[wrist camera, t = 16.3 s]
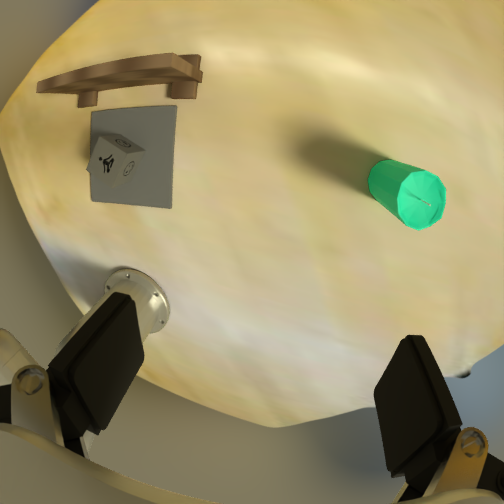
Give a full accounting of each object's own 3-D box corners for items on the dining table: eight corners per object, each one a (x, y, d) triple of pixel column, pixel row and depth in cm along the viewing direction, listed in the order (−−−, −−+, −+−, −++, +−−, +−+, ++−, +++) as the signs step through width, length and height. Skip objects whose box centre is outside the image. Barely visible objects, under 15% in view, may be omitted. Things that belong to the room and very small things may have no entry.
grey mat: (171, 207, 37) (170, 208, 37) (93, 200, 38) (91, 201, 38) (177, 106, 32) (175, 105, 31) (93, 112, 33) (92, 112, 32)
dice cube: (131, 181, 36) (111, 188, 32) (106, 164, 35) (86, 170, 31) (146, 150, 34) (127, 153, 30) (120, 134, 33) (99, 136, 29)
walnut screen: (204, 56, 29) (176, 33, 20) (199, 98, 31) (168, 87, 22) (84, 72, 30) (39, 66, 21) (80, 108, 33) (34, 109, 24)
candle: (365, 202, 34) (397, 234, 23) (368, 157, 32) (405, 168, 21) (406, 206, 33) (449, 237, 22) (410, 162, 31) (458, 177, 20)
